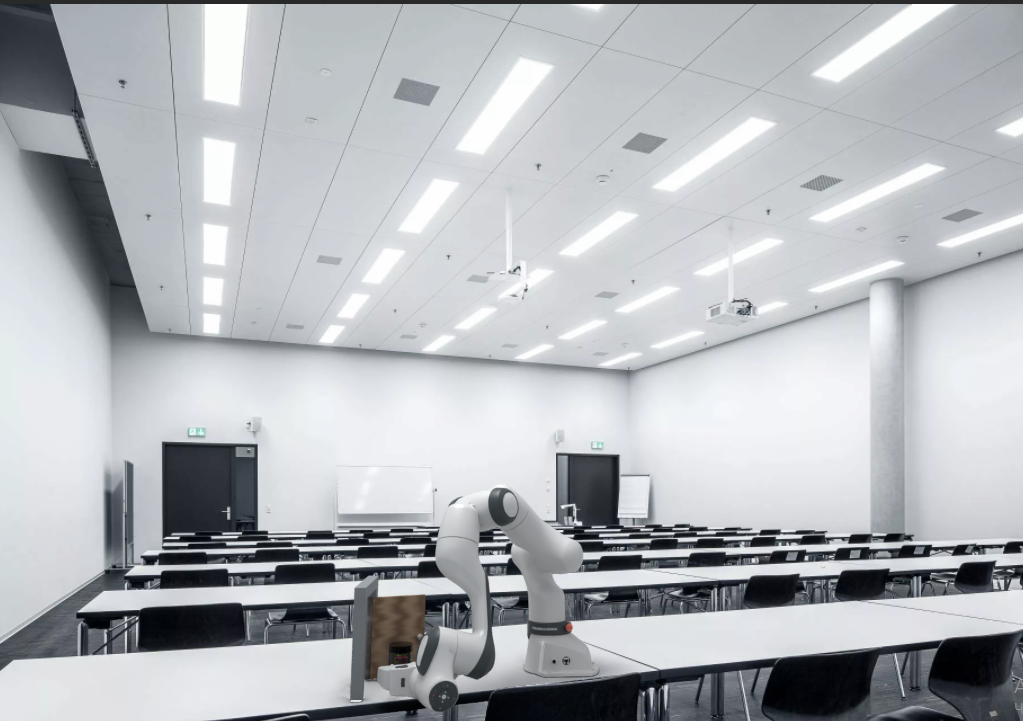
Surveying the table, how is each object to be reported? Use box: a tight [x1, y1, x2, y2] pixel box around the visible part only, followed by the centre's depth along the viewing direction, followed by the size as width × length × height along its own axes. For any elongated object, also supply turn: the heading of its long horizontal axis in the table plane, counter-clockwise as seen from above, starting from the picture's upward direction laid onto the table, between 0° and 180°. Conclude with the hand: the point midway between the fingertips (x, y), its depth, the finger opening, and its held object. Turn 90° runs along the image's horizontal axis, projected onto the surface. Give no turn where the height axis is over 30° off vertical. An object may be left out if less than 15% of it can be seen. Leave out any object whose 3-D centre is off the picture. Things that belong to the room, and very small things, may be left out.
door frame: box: [349, 575, 380, 702], centre depth 188 cm, size 24×3×28 cm, turn 3°
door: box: [364, 594, 426, 681], centre depth 197 cm, size 17×3×22 cm, turn 111°
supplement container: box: [388, 641, 413, 666], centre depth 191 cm, size 7×7×10 cm
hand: (410, 665), depth 182 cm, fingers open, 8 cm apart
